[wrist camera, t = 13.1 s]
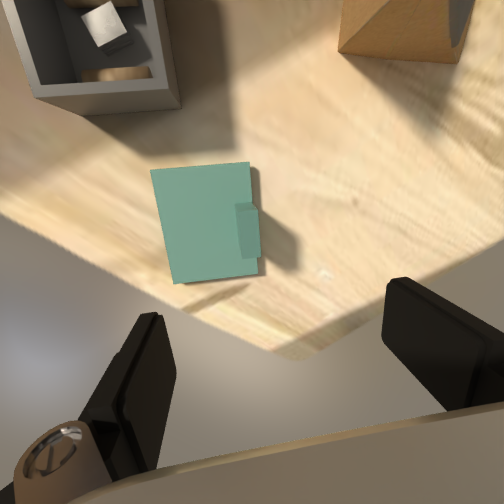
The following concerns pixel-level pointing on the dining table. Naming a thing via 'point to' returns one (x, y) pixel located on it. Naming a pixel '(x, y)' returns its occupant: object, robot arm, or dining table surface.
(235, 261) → the lid
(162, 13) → the tub
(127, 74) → the dowel
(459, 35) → the sandwich container
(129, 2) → the dowel
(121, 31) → the metal block
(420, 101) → the dining table surface
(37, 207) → the dining table surface
